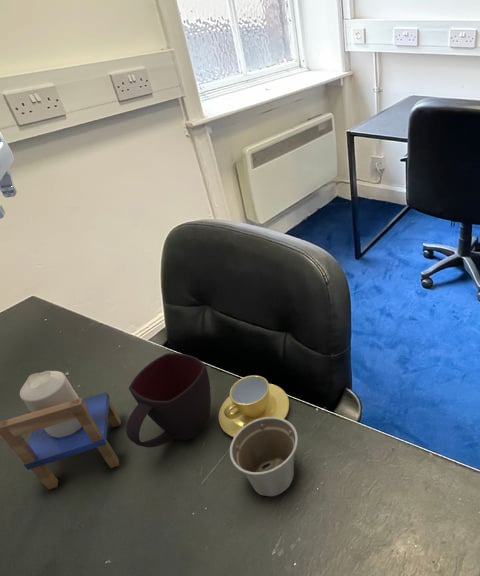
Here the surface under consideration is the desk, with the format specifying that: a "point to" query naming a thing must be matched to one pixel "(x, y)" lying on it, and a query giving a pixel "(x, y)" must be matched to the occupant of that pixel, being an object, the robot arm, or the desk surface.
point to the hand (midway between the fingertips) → (5, 205)
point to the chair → (49, 449)
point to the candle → (50, 398)
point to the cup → (252, 403)
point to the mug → (171, 398)
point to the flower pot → (266, 454)
